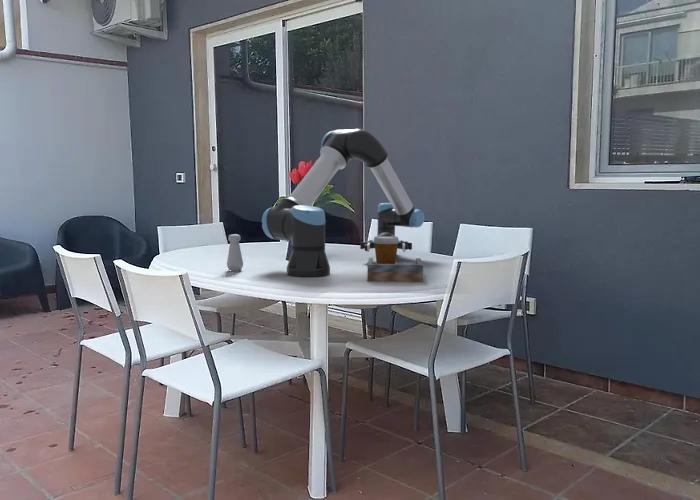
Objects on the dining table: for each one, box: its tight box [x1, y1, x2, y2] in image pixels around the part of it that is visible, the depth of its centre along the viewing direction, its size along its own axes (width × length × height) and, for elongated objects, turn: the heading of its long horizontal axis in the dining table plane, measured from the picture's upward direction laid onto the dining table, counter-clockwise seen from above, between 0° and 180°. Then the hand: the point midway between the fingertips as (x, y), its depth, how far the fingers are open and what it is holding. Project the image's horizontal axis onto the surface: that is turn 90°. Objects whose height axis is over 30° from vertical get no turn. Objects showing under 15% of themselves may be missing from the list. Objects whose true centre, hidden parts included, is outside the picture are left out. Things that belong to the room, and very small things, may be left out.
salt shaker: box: [226, 233, 244, 272], centre depth 215 cm, size 6×6×13 cm
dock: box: [366, 257, 424, 283], centre depth 203 cm, size 18×16×6 cm
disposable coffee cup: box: [372, 235, 400, 264], centre depth 219 cm, size 10×10×12 cm
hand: (386, 248), depth 228 cm, fingers open, 13 cm apart
